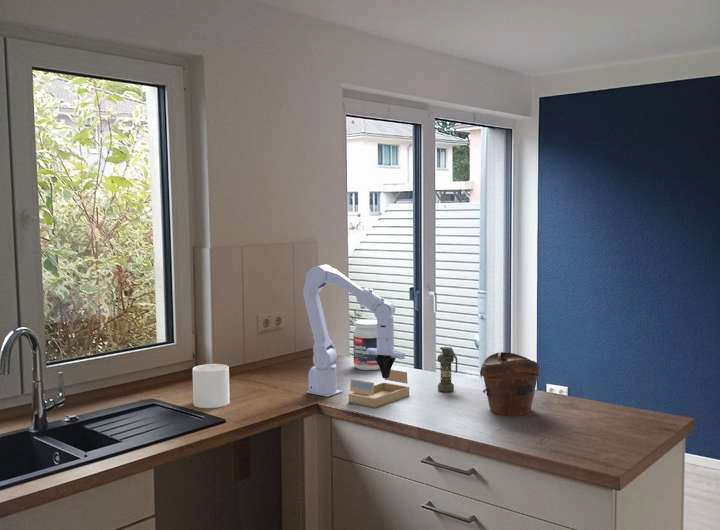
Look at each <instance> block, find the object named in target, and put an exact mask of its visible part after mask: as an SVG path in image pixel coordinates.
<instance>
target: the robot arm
mask: <svg viewBox="0 0 720 530" xmlns="http://www.w3.org/2000/svg"><path fill="white" fill-rule="evenodd" d="M326 285H335V286H338V287H340V288H341V289H343V290H345V291H346V292H348V293H349V294H351V295H352V296H355V298H356V303H358V304H360V306H362V307H364V308H365V309H367V310H368V311H370V312H371V313H374V316H375V318H376V320H377V348H367V354H372V355H378V356H377V357H376V358H375V360H376V362H377V363H378V365H379V368H380V369H379V370H380V373H381V378H382V379H385V378H389V375H390V370H391V369H392V367H393V365H394V362H395V361H396V359H399V360H403V359H404V360H405V359H406V357H405V356H406V352H402V351H398V350H395V344H394V343H395V338H394V337H395V334H394V333H395V325H394V315H395V312H396V307H395V304H394V303H393V302H392V301H390V300H387V299H385V297H381V296H379V295H378V294H377V293H375V292H374V289H373V288H368V287H365V288H361V287H360V286H358V284H357V283H355V282H353V281H352V280H351V279H349V278H348V277H347V276H346V275H344V274H343V273H342V272H340V271H339V270H338V269H337V268H334V267H332V266H331V265H329V264H327V263H326V264H325V263H324V264H322V265H315V266H313V267H311V268H310V269H309V270H308V272H307V273H306V274H305V282H304V284H303V288H302V296H303V299H304V303H305V307H306V312H307V316H308V319H309V325H310V329H311V332H312V337H313V341H314V343H313V347H312V351H313V356H312V362H313V364H314V365H313V366H312V367H310V369H309V370H308V390H307V392H306V393H308V394H313V395H316V396H317V395H318V396H323V397H331V396H335V395H338V394H341V393H343V390H341V389H338V383H337V381H338V380H337V364H336V363H337V361H338V359H339V352H338V349H336V347H335V346H334V343H333V341H332V339H331V338H330V335H329V332H328V327H327V323H326V318H325V315H324V310H323V305H322V302H321V297H320V292H321V291H322V290H323V289H324V287H325V286H326Z"/></svg>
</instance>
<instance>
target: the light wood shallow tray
mask: <svg viewBox="0 0 720 530" xmlns="http://www.w3.org/2000/svg"><path fill="white" fill-rule="evenodd" d="M409 396H410V386H406V385H402V384H396V383H395V384H394V383H391V382H383V381H382V382H379V383H377V384H374V395H368V394H363V393H357V392H352V391H351V392H350V393H349V392H348V403H349V404H353V405H357V406H362V407H368V408H373V409H377V408H380V407H382V406H385V405H388V404H391V403H393V402H395V401H399V400H401V399H404V398H406V397H409Z"/></svg>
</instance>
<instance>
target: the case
mask: <svg viewBox="0 0 720 530" xmlns="http://www.w3.org/2000/svg"><path fill="white" fill-rule="evenodd" d="M479 371H480V372H479V374H480V375H479V377H480V379H482V378H483V380H484V381H483V382H484V387H485V388H484V389H483V390H482V392H483V393H484V394H485V395H486V396H487V397H486V398H487V401H488V406H489V410H490V411H491V412H492V413H495V414H497V415H501V416H506V417H507V416H510V417H515V416H516V417H517V416H518V417H519V416H523V415H527V414H529V413H531V411H532V406H533V401H534V397H535V392H536V386H537V382H538V376H540V377H542V374H541V370H540V366H539V363H538V362H537V361H534V360H531V359H529V358H528V357H526V356H523V355H520V354H517V353H513V352H506V351H500V352H496V353H493V354H491V355H489V356H487V357H486V358H485V359H484V360H483V363H482V364H481V367H480V370H479Z"/></svg>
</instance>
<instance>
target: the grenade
mask: <svg viewBox="0 0 720 530" xmlns="http://www.w3.org/2000/svg"><path fill="white" fill-rule="evenodd" d="M439 350H441V353H440V354H438V356H437V362H439V365H440V366H439V367H440V382H439V383H438V384H437V390H438V391H440V392H443V393H450V392H453V391H454V389H455V384H454V383H452V363H453V362H454V361H455V371H453V373H454V374H456V373H458V357H457V355H456V353H455V351H454V349H453V347H451V346H441V347H440V348H439Z"/></svg>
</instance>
